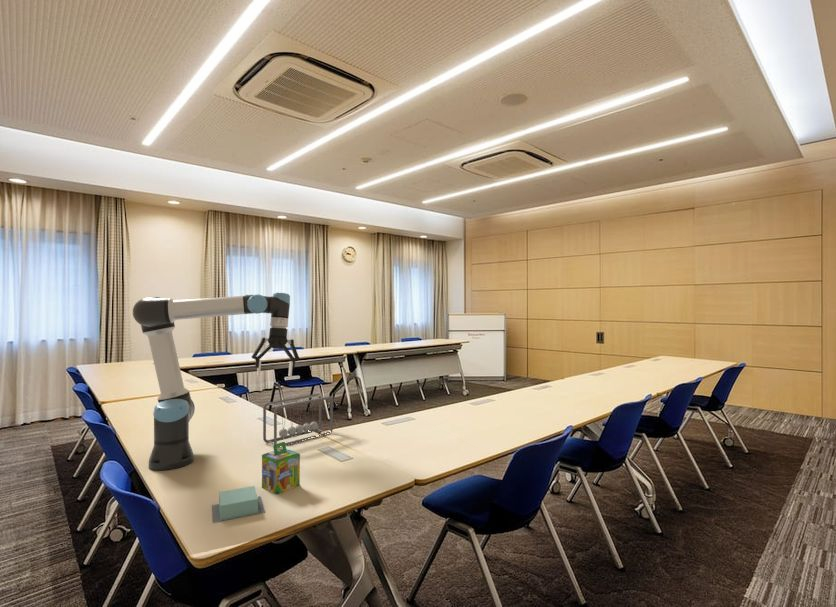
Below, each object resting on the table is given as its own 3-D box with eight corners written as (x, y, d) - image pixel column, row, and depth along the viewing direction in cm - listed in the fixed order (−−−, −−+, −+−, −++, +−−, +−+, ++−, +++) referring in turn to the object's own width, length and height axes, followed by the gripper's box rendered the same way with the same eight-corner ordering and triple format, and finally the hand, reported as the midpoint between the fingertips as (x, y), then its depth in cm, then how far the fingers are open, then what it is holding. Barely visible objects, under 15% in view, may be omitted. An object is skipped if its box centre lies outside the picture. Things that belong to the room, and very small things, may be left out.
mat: (212, 525, 121) (212, 523, 121) (211, 507, 131) (211, 505, 131) (265, 514, 127) (265, 512, 127) (260, 498, 138) (260, 496, 138)
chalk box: (277, 496, 139) (277, 450, 139) (260, 489, 144) (260, 444, 144) (300, 487, 146) (301, 442, 146) (284, 480, 152) (284, 437, 152)
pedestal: (220, 520, 122) (220, 505, 122) (219, 505, 131) (219, 492, 131) (258, 512, 127) (258, 498, 127) (254, 498, 136) (254, 485, 136)
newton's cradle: (274, 449, 184) (274, 407, 184) (262, 443, 192) (262, 403, 192) (333, 433, 206) (333, 396, 206) (320, 429, 213) (320, 392, 213)
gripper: (251, 325, 184) (246, 376, 182) (308, 329, 197) (304, 377, 195) (247, 325, 190) (242, 374, 188) (303, 329, 203) (299, 375, 201)
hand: (274, 375), depth 191 cm, fingers open, 13 cm apart
